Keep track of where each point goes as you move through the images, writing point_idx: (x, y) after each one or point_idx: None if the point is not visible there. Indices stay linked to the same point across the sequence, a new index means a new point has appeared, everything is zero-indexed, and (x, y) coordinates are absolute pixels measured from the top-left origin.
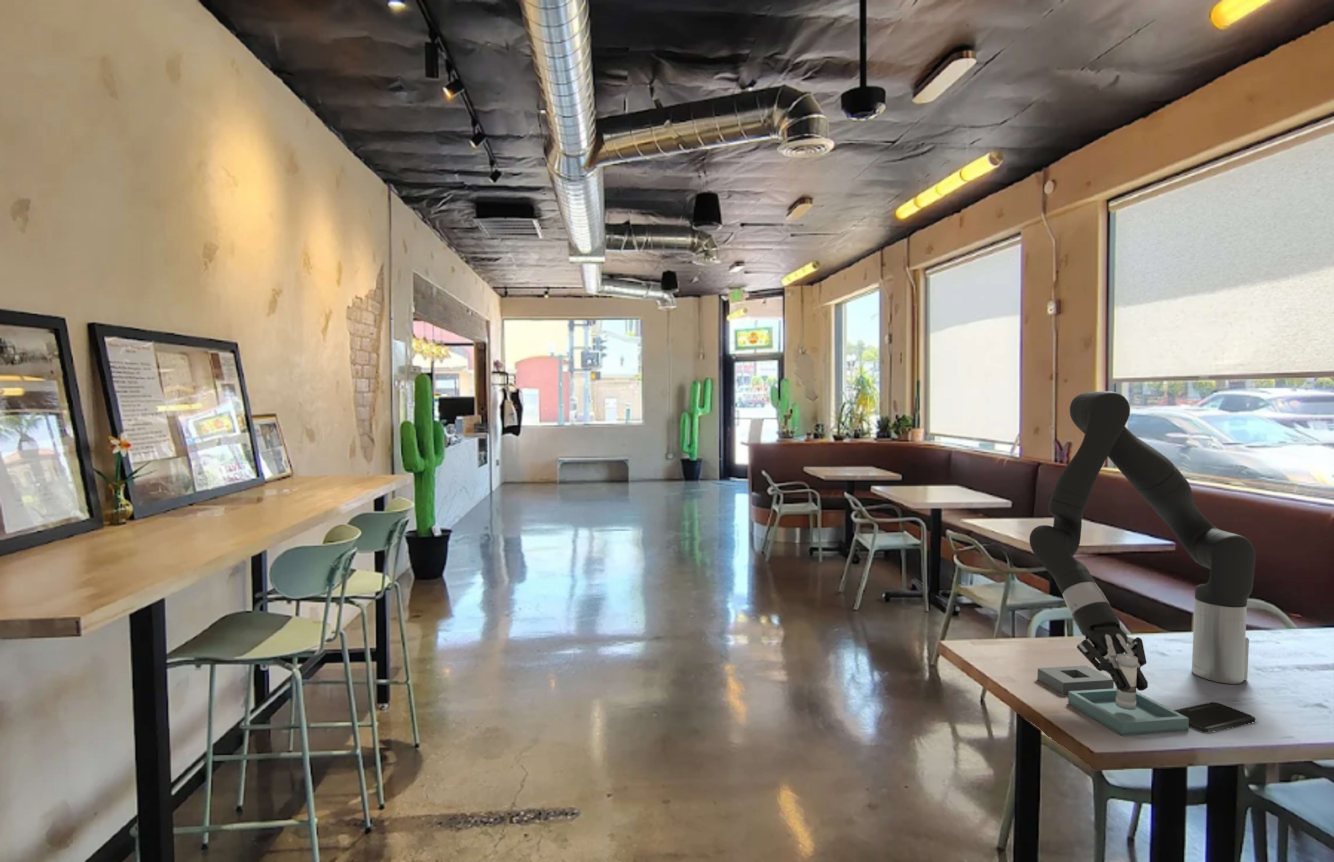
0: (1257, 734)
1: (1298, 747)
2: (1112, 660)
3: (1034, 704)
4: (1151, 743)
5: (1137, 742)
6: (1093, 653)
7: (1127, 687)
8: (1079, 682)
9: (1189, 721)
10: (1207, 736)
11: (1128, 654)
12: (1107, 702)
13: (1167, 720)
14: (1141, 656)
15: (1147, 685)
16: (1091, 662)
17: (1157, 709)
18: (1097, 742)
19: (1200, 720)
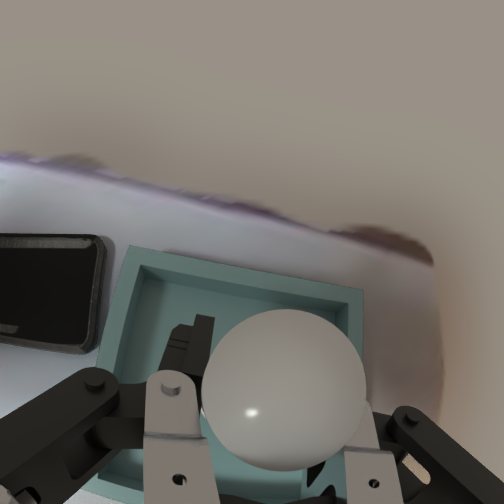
0: (17, 202)
1: (25, 153)
2: (366, 434)
3: None
4: (303, 254)
5: (333, 269)
6: (475, 463)
7: None
8: None
9: (85, 285)
10: (120, 230)
11: (224, 434)
12: None
13: (207, 261)
14: (72, 407)
15: (197, 314)
16: (415, 485)
17: (121, 353)
18: (415, 296)
19: (52, 278)
